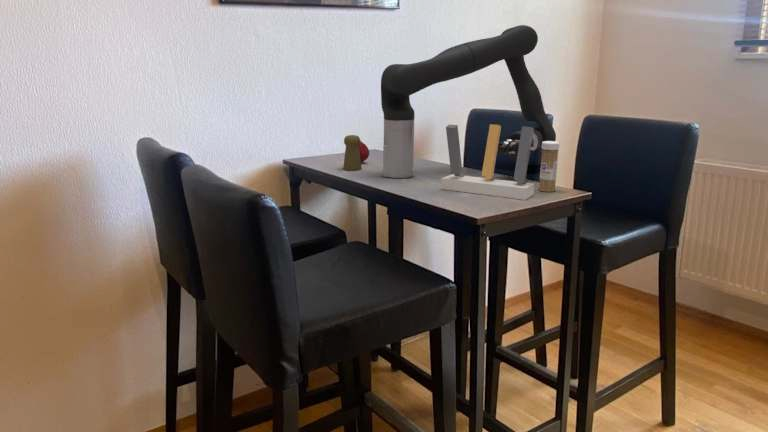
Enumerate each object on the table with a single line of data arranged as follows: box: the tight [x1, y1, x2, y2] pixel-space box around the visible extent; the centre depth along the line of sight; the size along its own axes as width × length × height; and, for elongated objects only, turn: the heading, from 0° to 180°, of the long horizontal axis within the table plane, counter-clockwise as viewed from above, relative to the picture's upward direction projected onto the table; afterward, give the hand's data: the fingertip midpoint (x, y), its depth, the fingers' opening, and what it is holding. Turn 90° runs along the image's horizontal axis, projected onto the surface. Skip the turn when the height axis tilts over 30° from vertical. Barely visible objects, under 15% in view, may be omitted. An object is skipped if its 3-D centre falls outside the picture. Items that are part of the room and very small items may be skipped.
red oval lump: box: [359, 139, 370, 164], centre depth 203 cm, size 6×6×8 cm
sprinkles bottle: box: [538, 140, 560, 193], centre depth 163 cm, size 5×5×14 cm
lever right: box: [513, 125, 534, 184], centre depth 157 cm, size 3×2×15 cm
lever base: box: [440, 174, 535, 201], centre depth 162 cm, size 24×7×3 cm, turn 58°
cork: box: [342, 134, 363, 172], centre depth 192 cm, size 6×6×11 cm
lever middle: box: [481, 123, 502, 180], centre depth 161 cm, size 3×2×15 cm
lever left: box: [445, 124, 463, 177], centre depth 163 cm, size 3×2×15 cm
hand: (502, 150), depth 168 cm, fingers closed
